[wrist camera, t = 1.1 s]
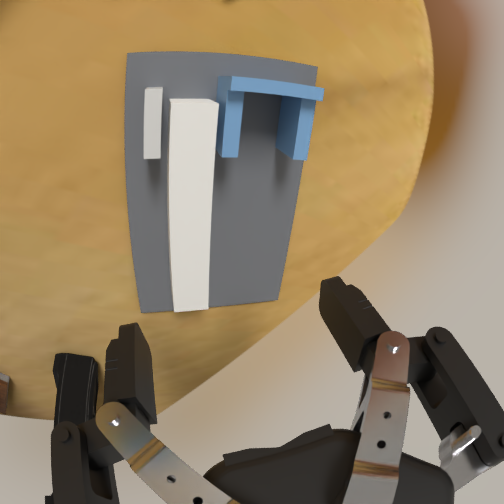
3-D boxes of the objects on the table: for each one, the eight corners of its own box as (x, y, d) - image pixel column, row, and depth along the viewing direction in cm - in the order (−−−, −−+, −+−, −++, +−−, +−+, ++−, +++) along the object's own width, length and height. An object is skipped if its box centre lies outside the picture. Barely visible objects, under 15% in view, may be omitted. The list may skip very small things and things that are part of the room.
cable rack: (141, 309, 32) (142, 347, 28) (128, 53, 19) (119, 47, 14) (276, 297, 37) (293, 329, 33) (315, 66, 23) (348, 68, 19)
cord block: (170, 282, 31) (174, 312, 27) (169, 98, 21) (171, 103, 18) (200, 279, 32) (208, 309, 28) (209, 98, 22) (218, 103, 19)
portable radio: (99, 388, 38) (112, 549, 18) (61, 382, 35) (62, 543, 15) (98, 356, 34) (108, 547, 14) (55, 350, 32) (48, 539, 12)
